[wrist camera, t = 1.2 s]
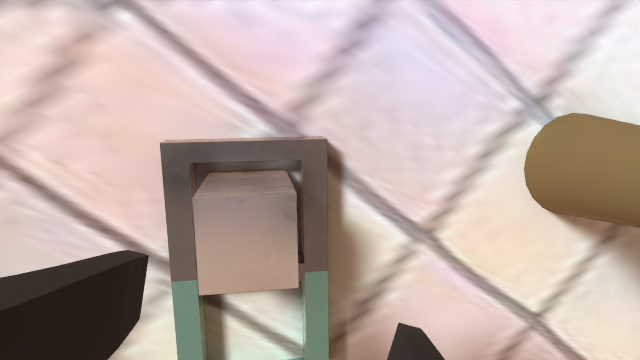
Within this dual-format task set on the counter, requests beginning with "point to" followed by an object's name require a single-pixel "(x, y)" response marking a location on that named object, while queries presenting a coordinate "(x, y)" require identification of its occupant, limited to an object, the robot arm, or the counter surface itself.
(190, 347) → the grey teal tray
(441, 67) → the counter surface
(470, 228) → the counter surface
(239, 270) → the beige rectangular block
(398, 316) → the counter surface
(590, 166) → the cork
